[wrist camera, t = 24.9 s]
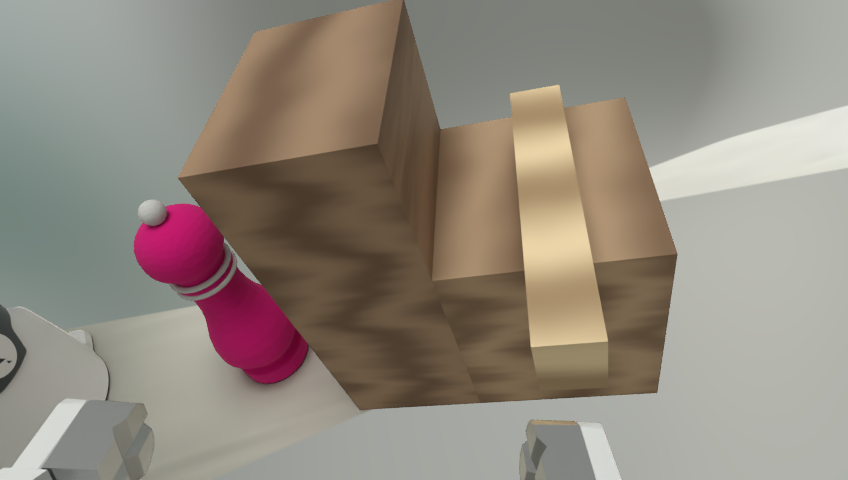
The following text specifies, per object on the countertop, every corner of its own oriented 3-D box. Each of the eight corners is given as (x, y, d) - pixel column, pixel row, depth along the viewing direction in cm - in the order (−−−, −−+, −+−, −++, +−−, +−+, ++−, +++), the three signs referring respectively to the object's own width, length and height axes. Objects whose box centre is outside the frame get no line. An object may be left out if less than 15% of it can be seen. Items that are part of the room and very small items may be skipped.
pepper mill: (260, 318, 54) (133, 168, 39) (324, 322, 51) (214, 165, 37) (228, 385, 49) (71, 244, 35) (296, 393, 47) (158, 245, 32)
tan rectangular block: (608, 387, 24) (608, 341, 21) (539, 391, 25) (530, 347, 22) (563, 136, 36) (559, 84, 33) (517, 143, 37) (509, 93, 34)
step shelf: (359, 409, 44) (177, 177, 26) (378, 274, 53) (254, 32, 35) (657, 392, 39) (701, 87, 20) (621, 247, 48) (628, -55, 30)
